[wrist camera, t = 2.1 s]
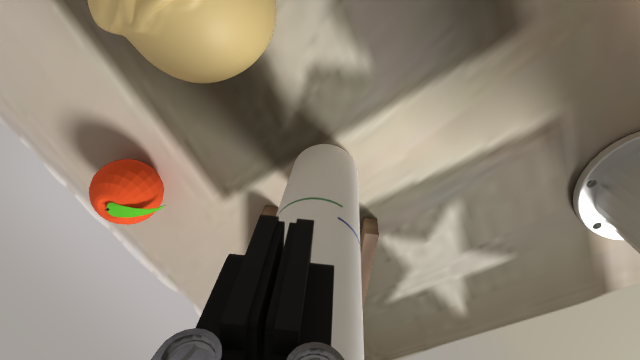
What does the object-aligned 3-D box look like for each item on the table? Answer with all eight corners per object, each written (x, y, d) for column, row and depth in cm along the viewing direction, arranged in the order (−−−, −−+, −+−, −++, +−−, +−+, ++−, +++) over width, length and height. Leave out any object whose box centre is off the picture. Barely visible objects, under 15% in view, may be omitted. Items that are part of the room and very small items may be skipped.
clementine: (183, 157, 38) (150, 189, 32) (184, 208, 42) (154, 246, 35) (111, 143, 38) (65, 172, 32) (118, 195, 41) (77, 231, 35)
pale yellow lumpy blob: (228, -120, 26) (159, -182, 17) (308, 29, 31) (288, 45, 22) (123, -32, 30) (17, -44, 20) (209, 90, 34) (155, 127, 25)
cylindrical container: (325, 212, 40) (292, 478, 18) (279, 173, 38) (180, 417, 16) (371, 175, 37) (399, 435, 15) (324, 130, 35) (280, 355, 13)
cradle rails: (376, 219, 40) (378, 234, 37) (352, 342, 50) (352, 361, 48) (265, 205, 40) (259, 220, 38) (264, 331, 51) (259, 349, 48)
